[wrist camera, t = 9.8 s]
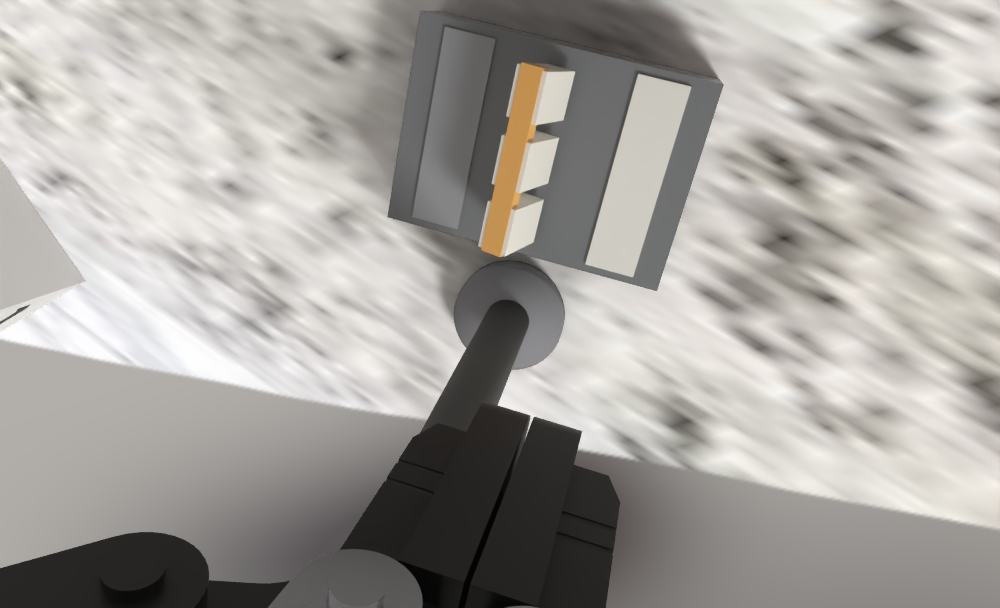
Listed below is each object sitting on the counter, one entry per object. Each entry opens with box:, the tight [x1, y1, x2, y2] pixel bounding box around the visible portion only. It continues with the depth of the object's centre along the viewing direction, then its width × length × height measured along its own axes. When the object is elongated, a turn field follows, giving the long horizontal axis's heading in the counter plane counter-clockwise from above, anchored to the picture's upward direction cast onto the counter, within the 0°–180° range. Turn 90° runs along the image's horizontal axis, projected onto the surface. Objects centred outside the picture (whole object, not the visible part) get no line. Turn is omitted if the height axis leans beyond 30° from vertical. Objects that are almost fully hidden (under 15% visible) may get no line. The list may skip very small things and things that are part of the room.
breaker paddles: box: [478, 62, 575, 257], centre depth 34 cm, size 1×8×3 cm, turn 169°
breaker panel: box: [388, 11, 724, 291], centre depth 37 cm, size 14×10×3 cm
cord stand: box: [420, 261, 565, 433], centre depth 32 cm, size 6×6×21 cm
